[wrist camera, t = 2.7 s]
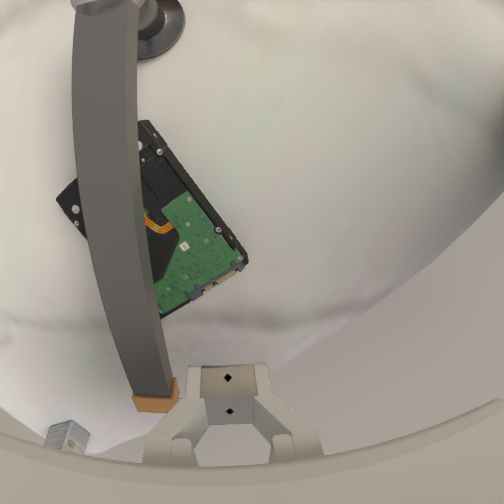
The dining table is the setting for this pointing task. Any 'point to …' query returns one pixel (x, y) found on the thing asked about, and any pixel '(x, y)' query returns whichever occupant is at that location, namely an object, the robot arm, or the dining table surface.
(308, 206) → the dining table surface
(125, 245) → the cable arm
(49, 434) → the medicine box
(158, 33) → the pivot post
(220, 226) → the disk drive
